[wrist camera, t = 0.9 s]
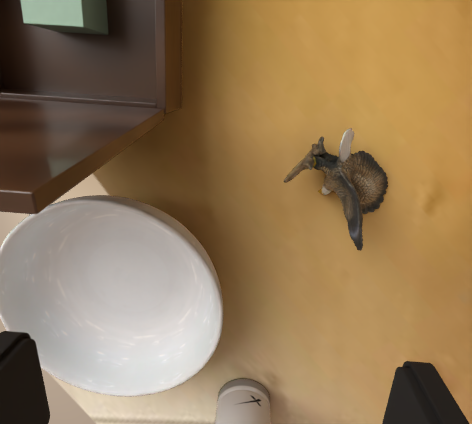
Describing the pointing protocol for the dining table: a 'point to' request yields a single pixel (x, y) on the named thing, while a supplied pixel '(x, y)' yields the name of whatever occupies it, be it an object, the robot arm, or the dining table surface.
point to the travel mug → (243, 403)
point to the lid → (60, 146)
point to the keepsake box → (97, 57)
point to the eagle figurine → (348, 181)
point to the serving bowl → (111, 295)
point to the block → (67, 15)
